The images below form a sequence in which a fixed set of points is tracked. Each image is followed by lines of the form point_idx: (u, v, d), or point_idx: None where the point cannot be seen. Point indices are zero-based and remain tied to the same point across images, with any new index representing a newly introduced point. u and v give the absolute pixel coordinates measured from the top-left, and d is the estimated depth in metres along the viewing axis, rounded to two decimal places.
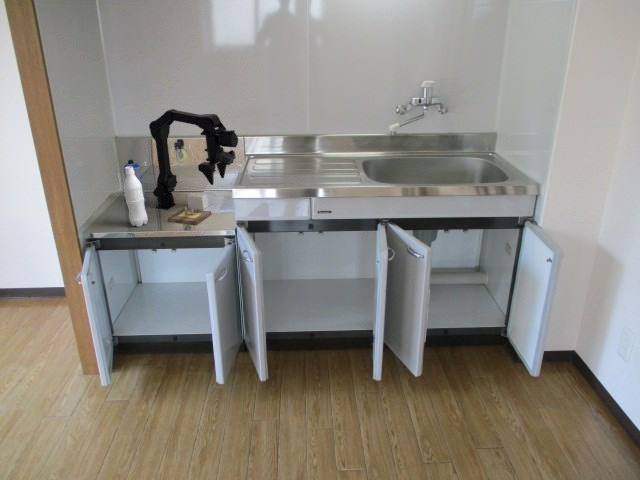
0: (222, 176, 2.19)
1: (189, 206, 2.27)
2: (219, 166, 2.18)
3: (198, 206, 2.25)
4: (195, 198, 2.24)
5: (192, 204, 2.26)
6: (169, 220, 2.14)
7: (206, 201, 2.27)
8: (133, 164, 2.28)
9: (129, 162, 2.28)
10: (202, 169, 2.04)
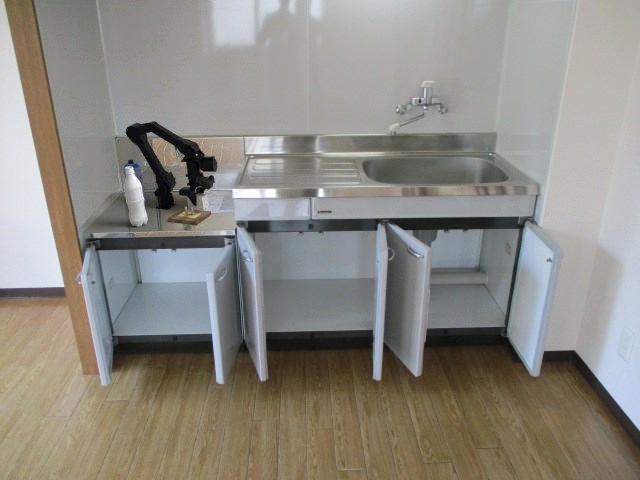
0: None
1: (189, 206, 2.27)
2: (197, 191, 2.28)
3: (198, 206, 2.25)
4: None
5: (192, 204, 2.26)
6: (169, 220, 2.14)
7: (206, 201, 2.27)
8: (133, 164, 2.28)
9: (129, 162, 2.28)
10: (183, 194, 2.16)
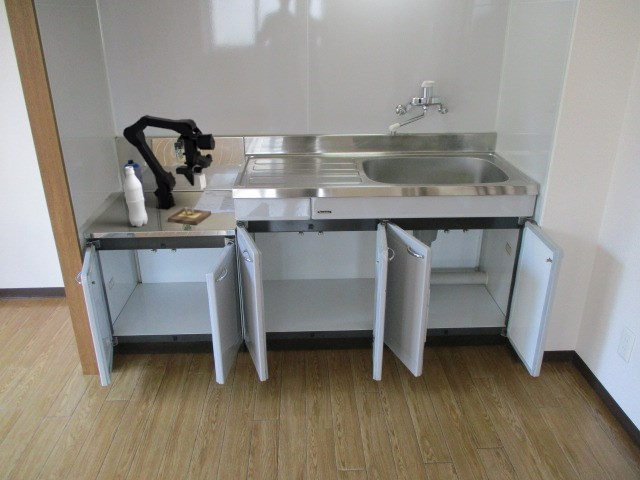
0: None
1: (186, 186, 2.23)
2: (194, 171, 2.24)
3: (196, 185, 2.21)
4: None
5: None
6: (169, 220, 2.14)
7: (204, 181, 2.22)
8: (133, 164, 2.28)
9: (129, 162, 2.28)
10: (180, 172, 2.12)
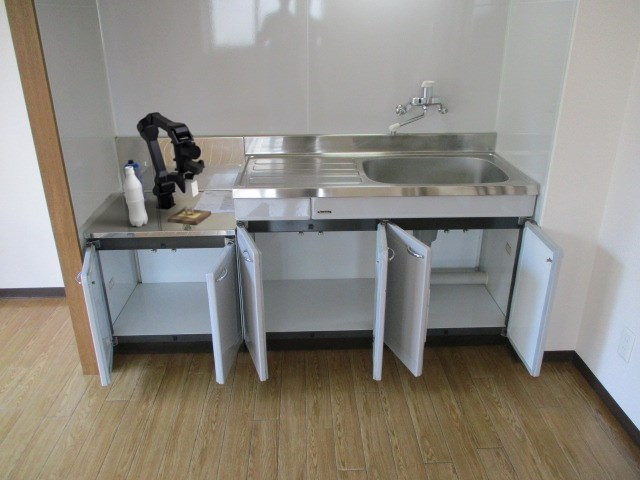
0: None
1: (177, 193, 2.12)
2: (186, 177, 2.13)
3: (187, 193, 2.10)
4: None
5: (181, 191, 2.10)
6: (169, 220, 2.14)
7: (196, 188, 2.11)
8: (133, 164, 2.28)
9: (129, 162, 2.28)
10: (170, 179, 2.01)
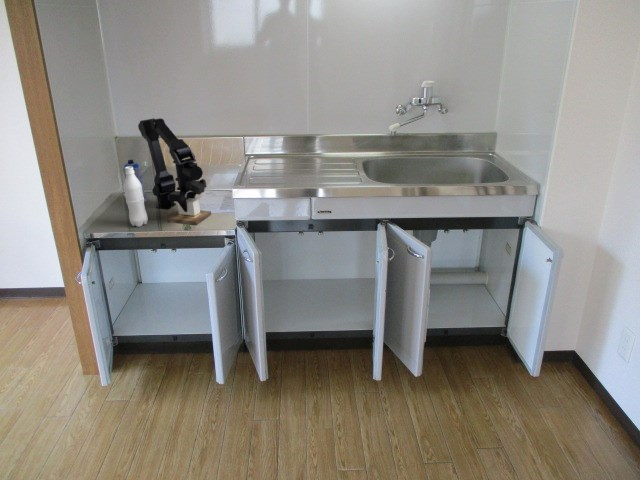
0: None
1: (179, 212, 2.15)
2: (188, 196, 2.16)
3: (189, 212, 2.13)
4: None
5: None
6: (169, 220, 2.14)
7: (197, 206, 2.15)
8: (133, 164, 2.28)
9: (129, 162, 2.28)
10: (172, 199, 2.04)
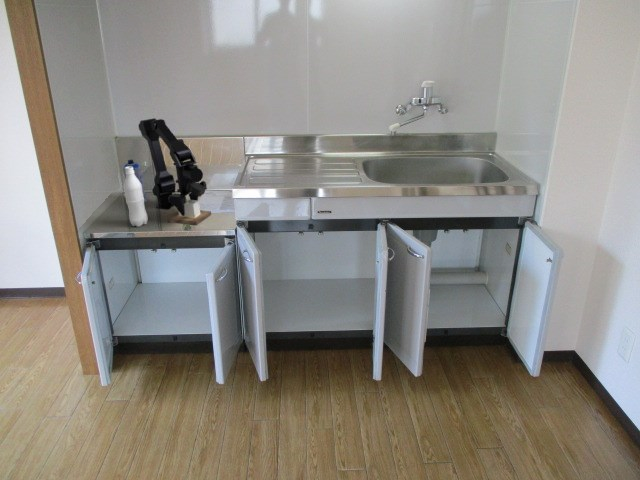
0: None
1: (180, 213, 2.15)
2: (191, 196, 2.18)
3: (189, 213, 2.13)
4: (186, 205, 2.12)
5: None
6: (169, 220, 2.14)
7: (198, 208, 2.15)
8: (133, 164, 2.28)
9: (129, 162, 2.28)
10: (172, 201, 2.05)
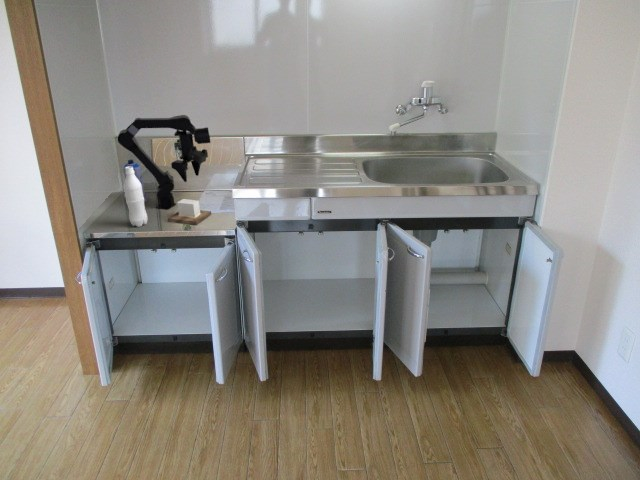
0: (196, 174, 2.31)
1: (180, 213, 2.15)
2: (193, 164, 2.30)
3: (189, 213, 2.13)
4: (186, 205, 2.12)
5: (183, 211, 2.14)
6: (169, 220, 2.14)
7: (198, 208, 2.15)
8: (133, 164, 2.28)
9: (129, 162, 2.28)
10: (175, 167, 2.17)
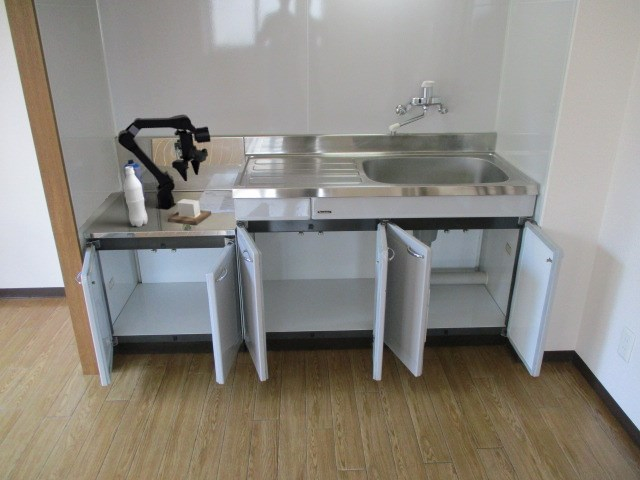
0: (196, 173, 2.32)
1: (180, 213, 2.15)
2: (193, 164, 2.31)
3: (189, 213, 2.13)
4: (186, 205, 2.12)
5: (183, 211, 2.14)
6: (169, 220, 2.14)
7: (198, 208, 2.15)
8: (133, 164, 2.28)
9: (129, 162, 2.28)
10: (176, 166, 2.18)
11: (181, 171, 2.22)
